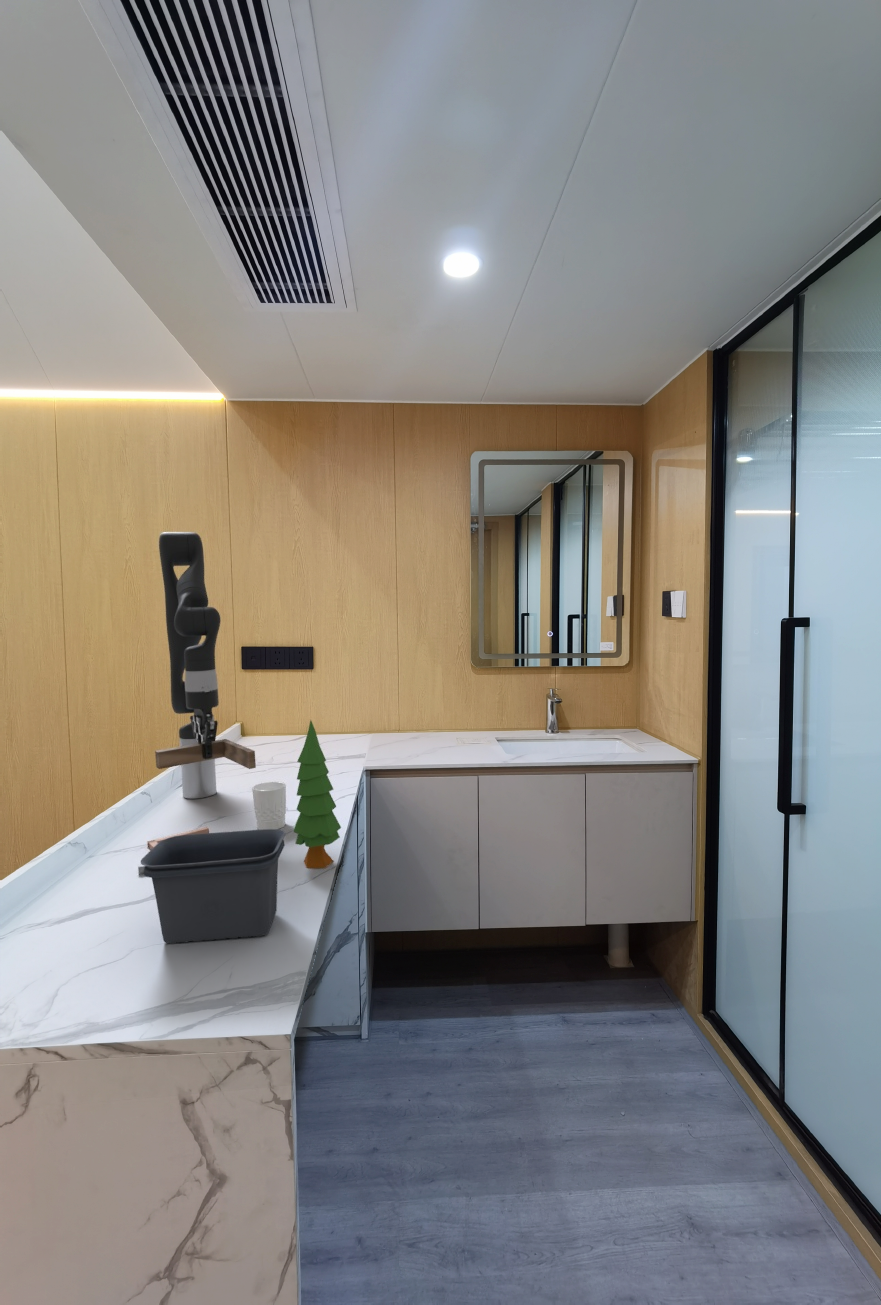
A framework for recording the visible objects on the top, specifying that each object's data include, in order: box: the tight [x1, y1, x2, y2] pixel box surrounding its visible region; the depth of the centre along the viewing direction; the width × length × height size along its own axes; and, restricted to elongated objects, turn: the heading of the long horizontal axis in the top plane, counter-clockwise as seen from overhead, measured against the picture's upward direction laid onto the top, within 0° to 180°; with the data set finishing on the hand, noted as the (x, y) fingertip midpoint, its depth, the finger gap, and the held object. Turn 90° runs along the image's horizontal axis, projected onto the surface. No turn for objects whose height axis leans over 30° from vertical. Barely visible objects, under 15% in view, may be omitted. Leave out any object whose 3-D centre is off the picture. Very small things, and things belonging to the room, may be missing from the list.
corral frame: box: [146, 826, 210, 851], centre depth 143 cm, size 15×14×1 cm
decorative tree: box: [293, 719, 342, 869], centre depth 130 cm, size 10×9×30 cm
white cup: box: [252, 781, 287, 830], centre depth 155 cm, size 8×8×10 cm
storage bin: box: [140, 829, 286, 944], centre depth 106 cm, size 21×16×14 cm
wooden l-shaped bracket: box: [154, 738, 257, 770], centre depth 149 cm, size 19×17×4 cm
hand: (205, 757), depth 158 cm, fingers closed on wooden l-shaped bracket, 2 cm apart
